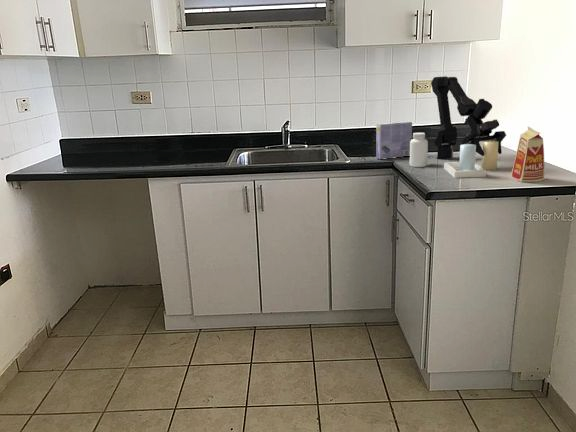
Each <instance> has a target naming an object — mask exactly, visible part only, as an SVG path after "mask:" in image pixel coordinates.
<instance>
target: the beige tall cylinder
mask: <svg viewBox="0 0 576 432" xmlns="http://www.w3.org/2000/svg"><path fill="white" fill-rule="evenodd" d="M482 143H483V144H482V150H483V152H484V156H481V157H482V158H481V168H483V169H485V170H486V171H495V170H497V169H498V155H499V153H498V143H499V142H498V141H482Z"/></svg>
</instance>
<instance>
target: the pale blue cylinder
mask: <svg viewBox="0 0 576 432" xmlns="http://www.w3.org/2000/svg"><path fill="white" fill-rule="evenodd" d="M476 153H477V152H476V145H474V144H462V143H461V144H460V145H459V162H460V163H459V171H472V170H475V164H476V155H477V154H476Z"/></svg>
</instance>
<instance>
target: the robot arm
mask: <svg viewBox="0 0 576 432" xmlns="http://www.w3.org/2000/svg"><path fill="white" fill-rule="evenodd" d="M430 86H431V89H432V92H433V94H434V95H435V96H436V99H437V107H438V115H439V116H438V117H439V122H440V127H439V129H438V131H437V137H436V139H434V142H433V143H434V146H435V147H437V153H436V154H437V155H436V158H435V159H436V160H438V159H439V160H450V159H452V158H453V157H454V148H453V146H456V144H457V140H458V131H457V126H456V125H455V126H454V125H453V124H452V117H451V111H450V103H449V95H448V94H449V92H450V93H451V95H452V97H453V98H454V100H455V102H456V103H457V106H456V108H457V111H458V114H459V116H461V117H467V118H465V119H464V122H463V123H464V126H467V125H468V127H469V129H470V130H471V131H469V132H470V133H469V134H466V135H465V136H464V138H463V140H461V145H462V144H474V145H476V153H477V154H479V155H480V156H481V157H482V156H484V152H483V147H482V146H481V144H480V143H481V142H483V141H498V142H499V143H498V155H501V154H502V142H503V140H504V139H505V138H506V136H507V134H506V132H505V131H503V130H499V131H495V132H494V133H493V130H494V129H495V130H496V129H497V128H498V127H499V126H500V122H499V120H498V119H492V120H488V121H487V120H486V121H483V119H484V120H485V119H486V118H487V116H488V114H489V113H490V112H491V110H492V108H493V104H492V103H490V101H488V100H485V98H479V99H478V101H477V102H476V101H475V100H474V99H472V98H470V97H469V96H468V95H467V93H466V92H465V90H464V89H463V87H462V86H461V84H460V83H459V80H458V77H457V76H447V75H446V76H445V75H444V76H434V77H433V79H432V80H431V82H430ZM492 133H493V134H492ZM491 134H492V135H491Z"/></svg>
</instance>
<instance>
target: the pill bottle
mask: <svg viewBox="0 0 576 432" xmlns="http://www.w3.org/2000/svg"><path fill="white" fill-rule="evenodd" d="M412 138H413V139H412V140H411V141H410V157H409V162H408V163H409V166H410V167H412V168H424V167H427V166H428V154H429V153H428V152H429V151H428V150H429V149H428V148H429V141H428V140H427V139H426V133H425V132H412Z"/></svg>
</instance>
